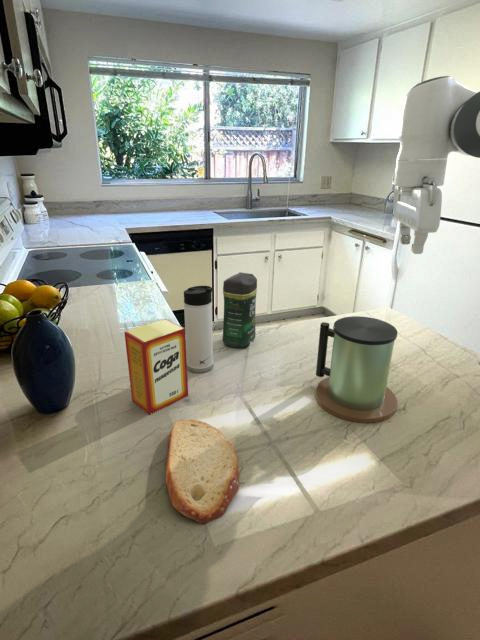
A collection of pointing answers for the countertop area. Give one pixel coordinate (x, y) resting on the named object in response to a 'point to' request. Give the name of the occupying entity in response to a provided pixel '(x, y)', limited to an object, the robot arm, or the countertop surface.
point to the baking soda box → (157, 364)
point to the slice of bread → (200, 470)
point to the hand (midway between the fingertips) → (410, 248)
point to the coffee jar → (239, 309)
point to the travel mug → (198, 328)
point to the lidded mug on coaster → (357, 369)
